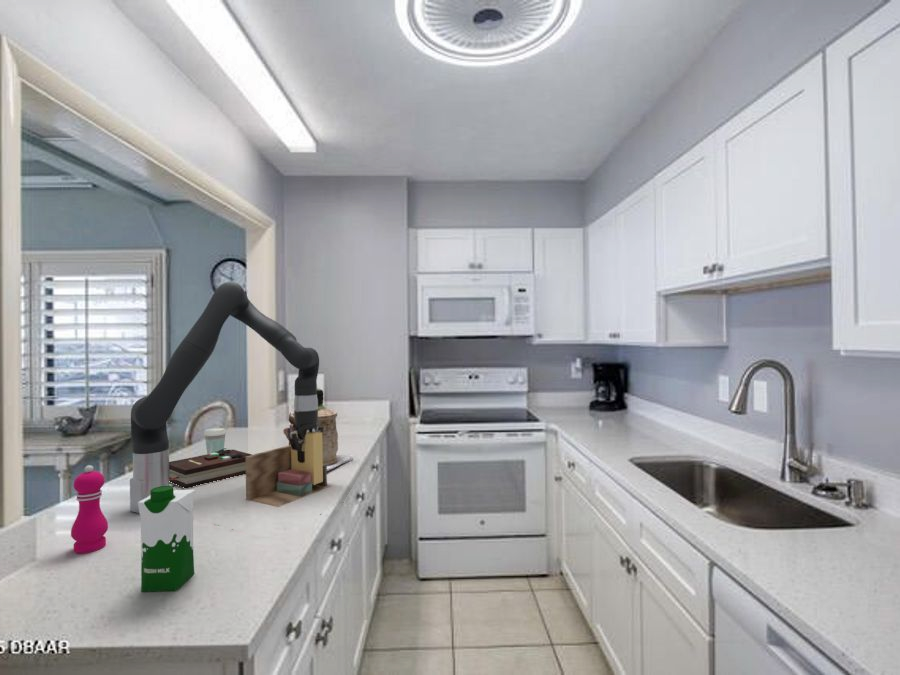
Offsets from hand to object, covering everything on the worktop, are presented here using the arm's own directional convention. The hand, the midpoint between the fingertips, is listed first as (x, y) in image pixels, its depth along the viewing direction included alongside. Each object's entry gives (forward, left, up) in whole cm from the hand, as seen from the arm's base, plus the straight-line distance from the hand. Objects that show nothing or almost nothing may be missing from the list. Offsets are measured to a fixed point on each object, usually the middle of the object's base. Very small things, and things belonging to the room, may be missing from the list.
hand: (306, 460), depth 158 cm
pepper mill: (-56, +15, -10) cm, 59 cm away
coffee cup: (+16, +70, -10) cm, 73 cm away
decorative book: (-3, +46, -11) cm, 47 cm away
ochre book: (0, 0, -7) cm, 7 cm away
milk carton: (-57, -19, -10) cm, 61 cm away
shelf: (-7, 0, -10) cm, 12 cm away
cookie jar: (+26, +23, -10) cm, 36 cm away
